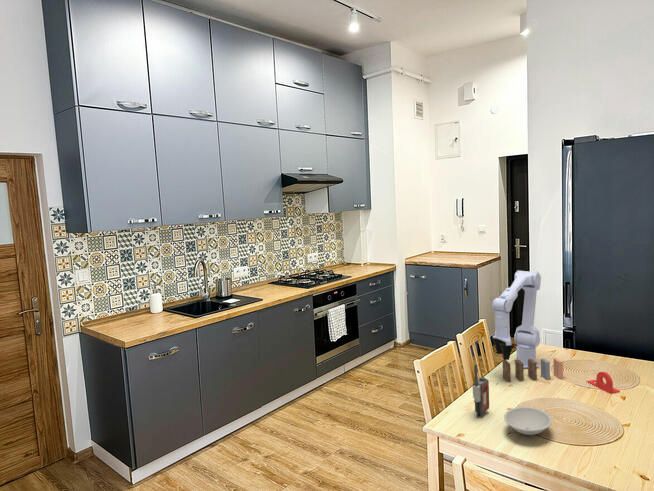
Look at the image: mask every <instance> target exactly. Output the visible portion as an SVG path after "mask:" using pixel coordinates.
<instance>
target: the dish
mask: <svg viewBox="0 0 654 491" xmlns="http://www.w3.org/2000/svg"><path fill="white" fill-rule="evenodd" d="M503 418H504V421H505V422H506V424H507V425H509V427H510V428H512V429H513V430H515V431H516V432H517V433H520V434H523V435H525V436H526V435H530V436H532V435H538V434H540V433H542V432H544V431H545V430H547V429H548V428H549V427H550V426H551V425H552V422H553V419H552V417H551V416H550V414H549V413H547V412H546V411H545V410H543V409H540V408H536V407H531V406H519V407H514V408H511V409H508V410H507V411H505V413H504V416H503Z"/></svg>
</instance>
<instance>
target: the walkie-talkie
mask: <svg viewBox="0 0 654 491" xmlns="http://www.w3.org/2000/svg"><path fill="white" fill-rule="evenodd" d="M473 372H474V382H473V383H472V398H473V399H474V400H473V402H474V413H477V414H476V415H477V417H479V418H481V415H483V414H485V413H486V412H487V411H488V410H489V409H490V386H489V385H490V381H489V379H488V378H486V377H484V376H481V377H479V376H478V365H477V364H474V365H473ZM478 377H479V378H478Z"/></svg>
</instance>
